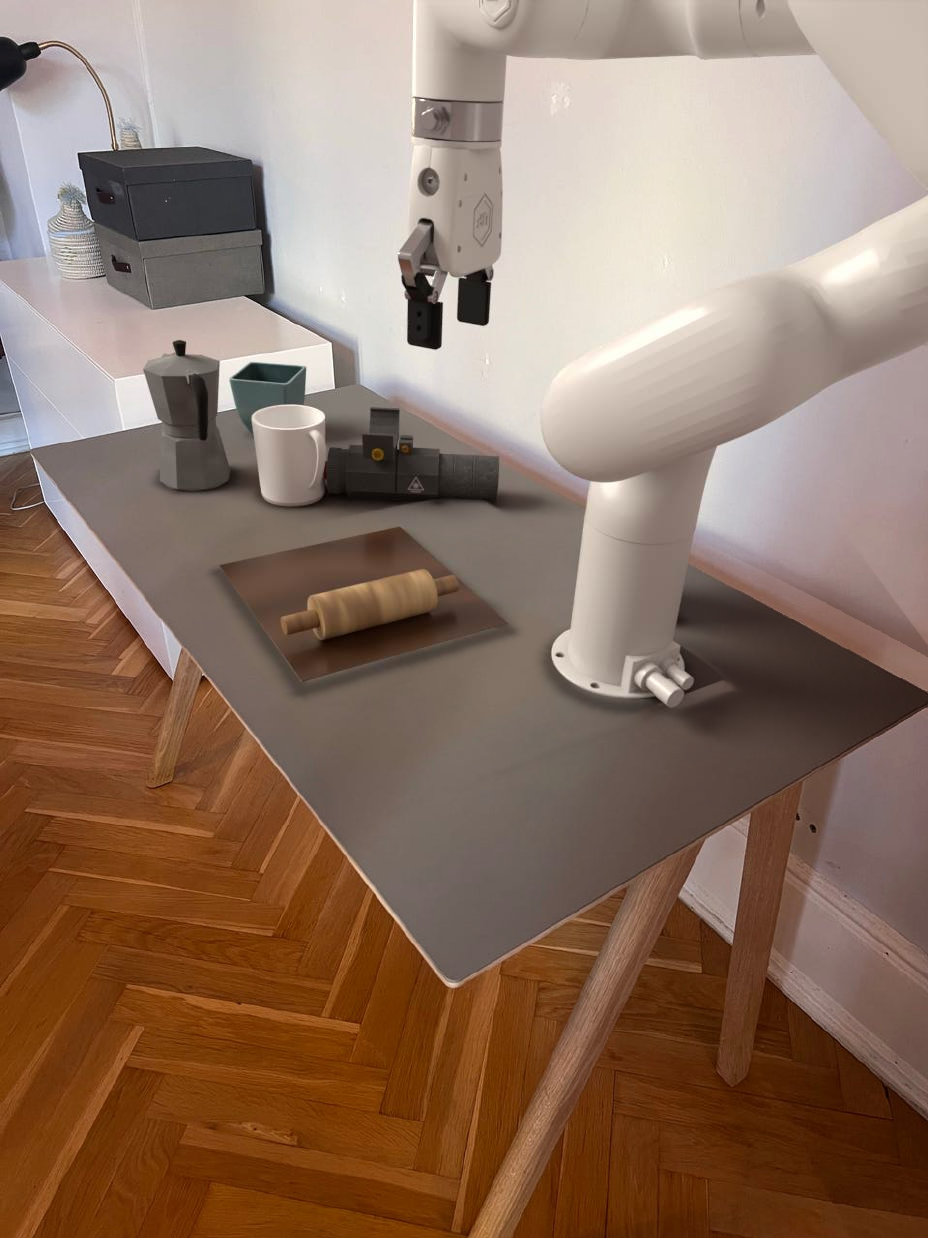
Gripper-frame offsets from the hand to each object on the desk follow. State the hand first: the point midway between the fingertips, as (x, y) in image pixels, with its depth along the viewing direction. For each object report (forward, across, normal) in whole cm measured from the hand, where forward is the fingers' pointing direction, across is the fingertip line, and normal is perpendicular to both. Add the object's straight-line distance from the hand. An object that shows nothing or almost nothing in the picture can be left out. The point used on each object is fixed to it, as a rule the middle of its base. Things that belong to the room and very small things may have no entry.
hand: (449, 334), depth 84 cm
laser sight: (+27, +19, +14) cm, 36 cm away
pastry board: (+27, -7, +6) cm, 29 cm away
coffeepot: (+28, +8, +40) cm, 49 cm away
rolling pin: (+26, -11, +2) cm, 28 cm away
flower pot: (+28, +28, +43) cm, 58 cm away
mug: (+27, +11, +26) cm, 40 cm away
